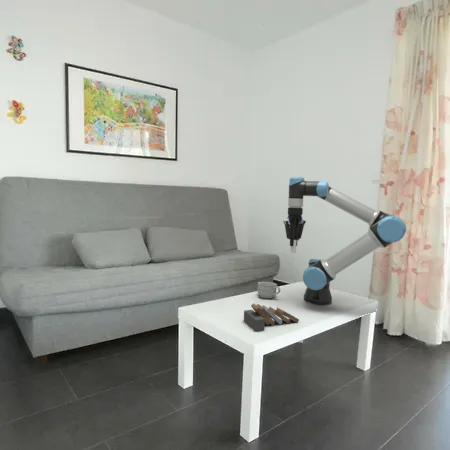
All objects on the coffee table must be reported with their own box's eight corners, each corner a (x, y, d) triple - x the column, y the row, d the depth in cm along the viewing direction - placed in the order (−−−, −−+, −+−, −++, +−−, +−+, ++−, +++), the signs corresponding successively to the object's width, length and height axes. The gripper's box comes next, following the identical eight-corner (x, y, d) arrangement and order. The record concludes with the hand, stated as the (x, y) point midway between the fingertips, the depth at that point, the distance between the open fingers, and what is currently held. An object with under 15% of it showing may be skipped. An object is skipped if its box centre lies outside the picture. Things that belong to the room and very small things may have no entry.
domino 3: (276, 318, 153) (263, 305, 150) (282, 322, 148) (268, 308, 145) (274, 320, 153) (261, 307, 149) (280, 324, 148) (266, 311, 145)
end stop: (251, 320, 152) (252, 309, 152) (264, 330, 141) (264, 319, 141) (243, 321, 151) (244, 310, 150) (255, 331, 140) (256, 320, 139)
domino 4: (284, 316, 154) (269, 306, 151) (290, 320, 150) (275, 310, 146) (282, 319, 154) (267, 309, 151) (288, 323, 150) (273, 313, 146)
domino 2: (269, 319, 152) (258, 303, 149) (275, 323, 147) (263, 307, 144) (267, 321, 151) (255, 306, 148) (272, 325, 147) (260, 309, 144)
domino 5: (293, 315, 156) (277, 307, 152) (299, 319, 152) (283, 310, 148) (291, 318, 156) (275, 310, 152) (297, 322, 151) (281, 314, 148)
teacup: (253, 296, 190) (253, 282, 189) (267, 293, 196) (267, 279, 195) (270, 302, 178) (271, 288, 178) (284, 299, 185) (285, 285, 184)
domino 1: (265, 319, 151) (253, 303, 148) (270, 323, 146) (258, 306, 143) (262, 321, 150) (250, 305, 147) (267, 325, 146) (255, 309, 143)
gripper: (300, 207, 179) (298, 250, 181) (280, 206, 174) (278, 251, 176) (310, 207, 173) (307, 252, 175) (289, 207, 167) (287, 254, 169)
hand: (293, 252), depth 175 cm, fingers closed
